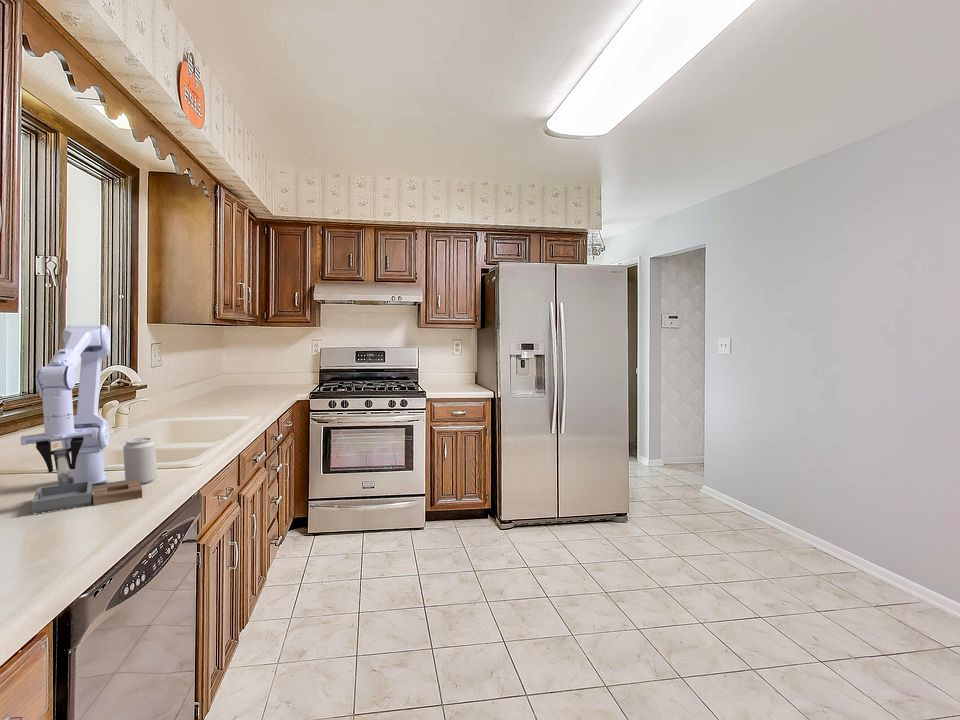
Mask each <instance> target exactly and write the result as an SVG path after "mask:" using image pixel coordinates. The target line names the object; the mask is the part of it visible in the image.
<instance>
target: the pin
mask: <svg viewBox="0 0 960 720" xmlns="http://www.w3.org/2000/svg"><path fill="white" fill-rule="evenodd" d="M70 451H71V448H63V447H61V448H57V449H52V450H51V456H53V459H54V460H53V461H54V465H55V470H56V475H57V481H58V485H59V486H65V485H69V484H72V483H74V478H73V472H72V468H71V454H70V453H69V452H70Z"/></svg>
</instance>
